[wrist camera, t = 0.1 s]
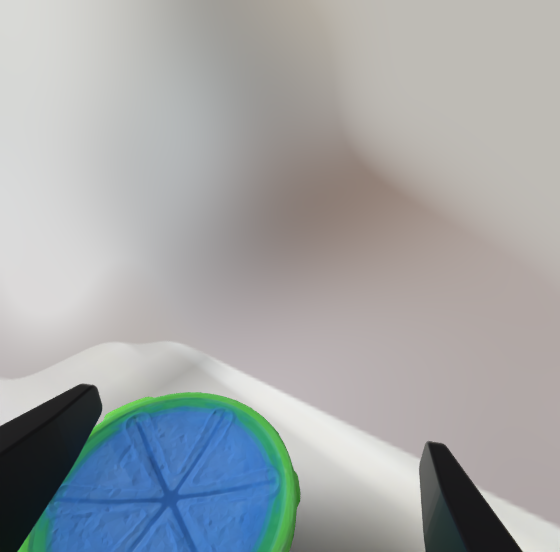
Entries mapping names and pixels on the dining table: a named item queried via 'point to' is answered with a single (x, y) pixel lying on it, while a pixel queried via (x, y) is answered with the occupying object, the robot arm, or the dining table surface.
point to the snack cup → (175, 483)
